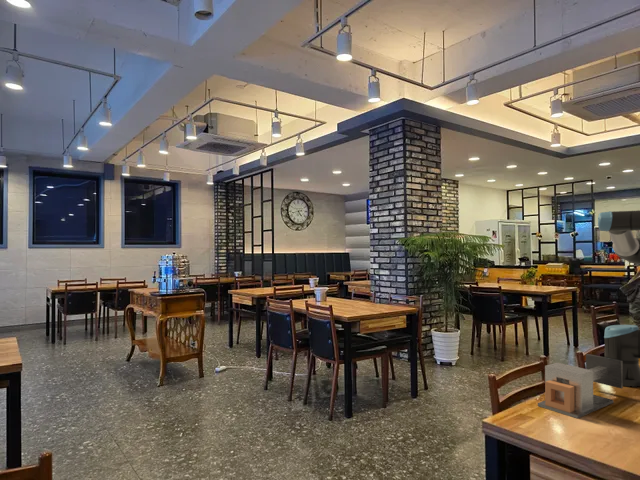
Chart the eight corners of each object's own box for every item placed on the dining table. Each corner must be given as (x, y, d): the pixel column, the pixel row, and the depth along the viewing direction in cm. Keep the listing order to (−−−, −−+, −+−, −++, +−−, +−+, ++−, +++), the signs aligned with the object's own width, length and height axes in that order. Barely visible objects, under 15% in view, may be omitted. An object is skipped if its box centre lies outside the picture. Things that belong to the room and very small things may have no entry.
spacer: (549, 403, 147) (549, 380, 147) (574, 410, 140) (574, 386, 140) (545, 405, 145) (545, 381, 145) (570, 412, 138) (569, 388, 139)
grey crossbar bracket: (587, 379, 166) (587, 353, 166) (622, 387, 156) (622, 360, 157) (551, 392, 151) (551, 363, 151) (587, 402, 141) (587, 372, 141)
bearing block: (574, 392, 161) (574, 357, 162) (613, 402, 151) (612, 364, 151) (537, 405, 147) (537, 367, 147) (577, 418, 136) (577, 376, 136)
